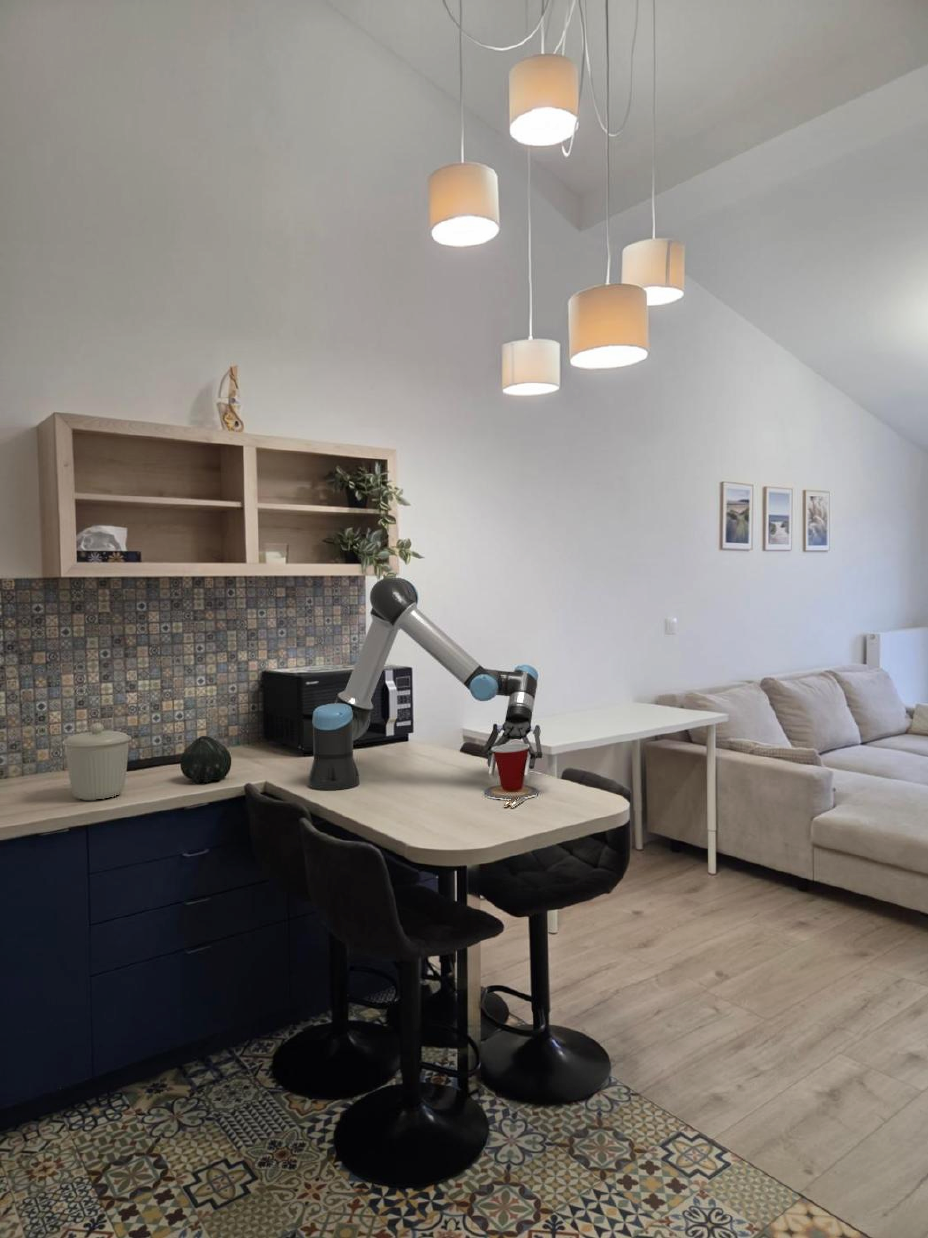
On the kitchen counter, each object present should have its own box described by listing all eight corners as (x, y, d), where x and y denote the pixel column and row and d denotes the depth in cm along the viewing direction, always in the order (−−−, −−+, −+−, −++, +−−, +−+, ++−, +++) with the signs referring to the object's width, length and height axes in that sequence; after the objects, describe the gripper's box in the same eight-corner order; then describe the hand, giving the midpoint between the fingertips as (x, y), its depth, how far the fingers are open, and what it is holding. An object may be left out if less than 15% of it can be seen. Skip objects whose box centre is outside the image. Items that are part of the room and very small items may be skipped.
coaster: (514, 803, 227) (514, 799, 227) (473, 795, 237) (473, 791, 237) (548, 793, 238) (548, 789, 238) (508, 785, 248) (508, 781, 248)
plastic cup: (491, 783, 243) (491, 742, 243) (529, 783, 243) (528, 741, 242) (491, 793, 232) (491, 749, 232) (531, 792, 232) (530, 749, 231)
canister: (143, 796, 242) (141, 722, 242) (78, 808, 229) (76, 730, 229) (117, 786, 255) (114, 716, 254) (54, 797, 242) (51, 724, 241)
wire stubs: (513, 809, 221) (513, 804, 221) (502, 808, 222) (502, 803, 222) (525, 801, 230) (525, 796, 230) (515, 800, 231) (515, 795, 231)
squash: (219, 755, 273) (192, 724, 265) (247, 762, 264) (220, 731, 255) (190, 790, 266) (161, 760, 257) (218, 799, 256) (188, 768, 248)
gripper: (558, 720, 249) (549, 786, 234) (485, 718, 255) (472, 782, 240) (555, 704, 243) (546, 771, 229) (480, 702, 249) (467, 767, 235)
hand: (508, 776), depth 234 cm, fingers closed on plastic cup, 9 cm apart
